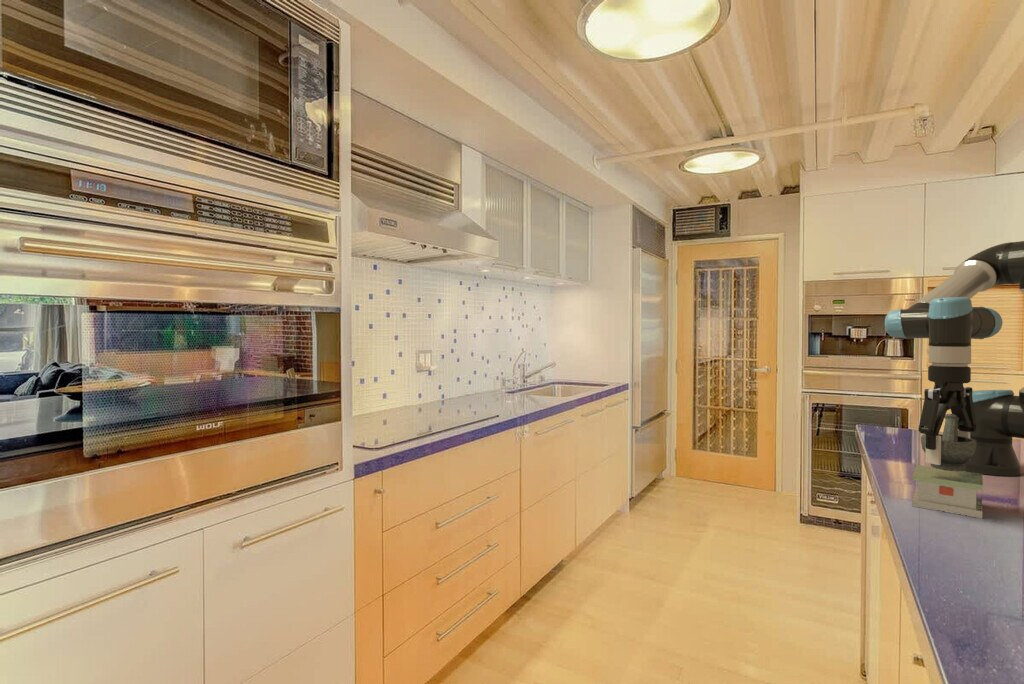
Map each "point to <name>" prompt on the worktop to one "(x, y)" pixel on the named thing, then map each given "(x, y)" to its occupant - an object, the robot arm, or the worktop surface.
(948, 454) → the mortar and pestle
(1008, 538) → the worktop surface
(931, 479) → the stand
